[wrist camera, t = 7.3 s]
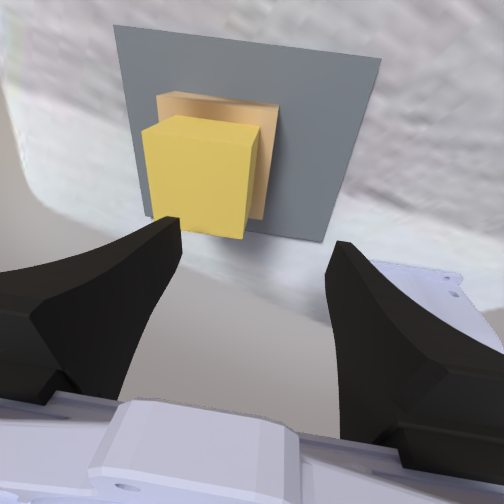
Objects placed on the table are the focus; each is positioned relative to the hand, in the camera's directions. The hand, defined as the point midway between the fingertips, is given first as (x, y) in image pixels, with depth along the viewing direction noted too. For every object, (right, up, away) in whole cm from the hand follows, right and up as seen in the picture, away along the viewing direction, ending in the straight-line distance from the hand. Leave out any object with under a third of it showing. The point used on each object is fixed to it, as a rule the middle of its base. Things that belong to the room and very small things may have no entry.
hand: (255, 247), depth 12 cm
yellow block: (-2, +5, +5) cm, 8 cm away
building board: (-1, +7, +8) cm, 11 cm away
